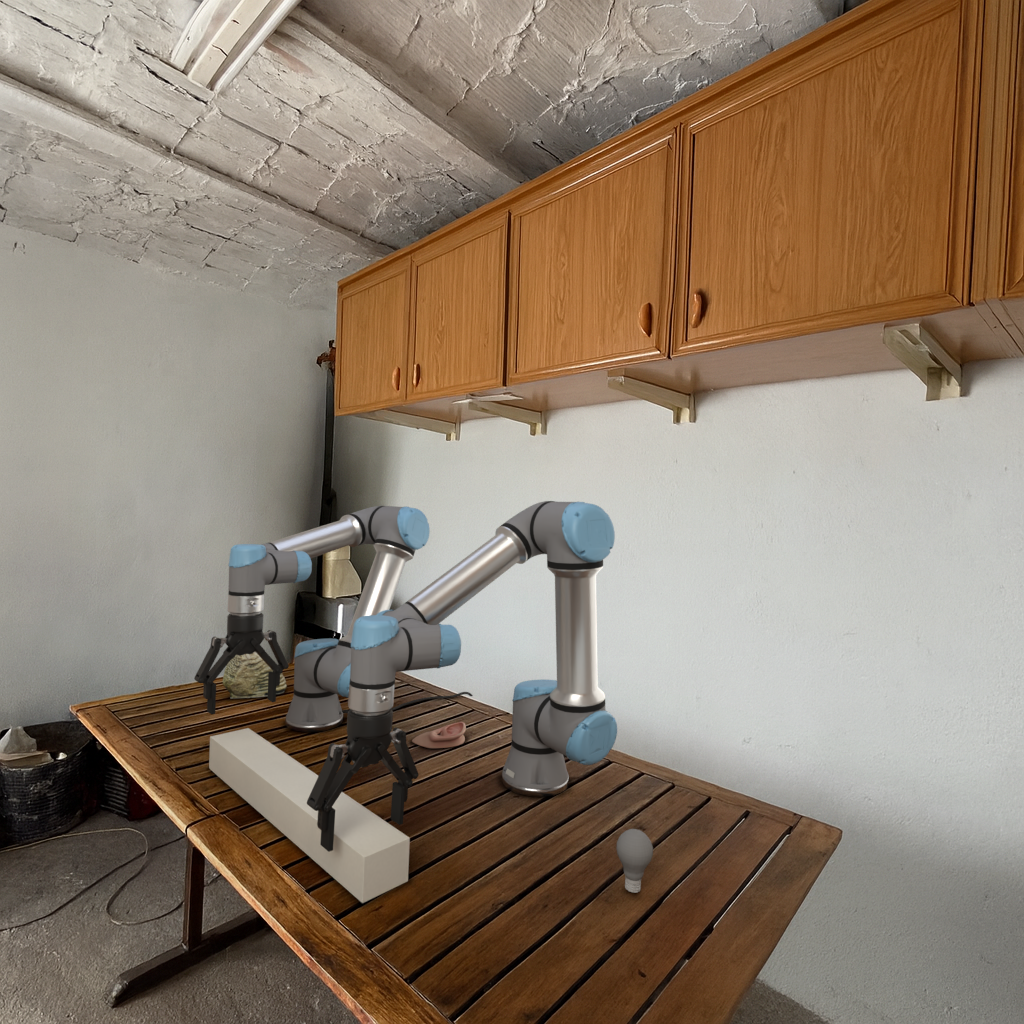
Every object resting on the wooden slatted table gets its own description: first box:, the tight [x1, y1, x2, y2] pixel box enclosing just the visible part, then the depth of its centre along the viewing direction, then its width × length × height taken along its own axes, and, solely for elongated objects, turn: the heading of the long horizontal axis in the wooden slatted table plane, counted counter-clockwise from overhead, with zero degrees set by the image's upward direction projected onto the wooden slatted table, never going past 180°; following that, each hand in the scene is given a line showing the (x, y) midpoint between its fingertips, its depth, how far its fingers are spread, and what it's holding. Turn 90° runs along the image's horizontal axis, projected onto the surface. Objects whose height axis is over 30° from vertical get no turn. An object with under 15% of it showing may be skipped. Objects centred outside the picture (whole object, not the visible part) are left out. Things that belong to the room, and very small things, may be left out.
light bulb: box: [615, 828, 654, 894], centre depth 106 cm, size 6×6×10 cm
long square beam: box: [208, 727, 411, 904], centre depth 125 cm, size 65×9×7 cm, turn 45°
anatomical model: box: [411, 721, 467, 749], centre depth 167 cm, size 13×4×12 cm
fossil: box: [222, 652, 288, 699], centre depth 198 cm, size 9×18×15 cm, turn 132°
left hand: (242, 706), depth 143 cm, fingers open, 13 cm apart
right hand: (363, 834), depth 107 cm, fingers open, 13 cm apart
